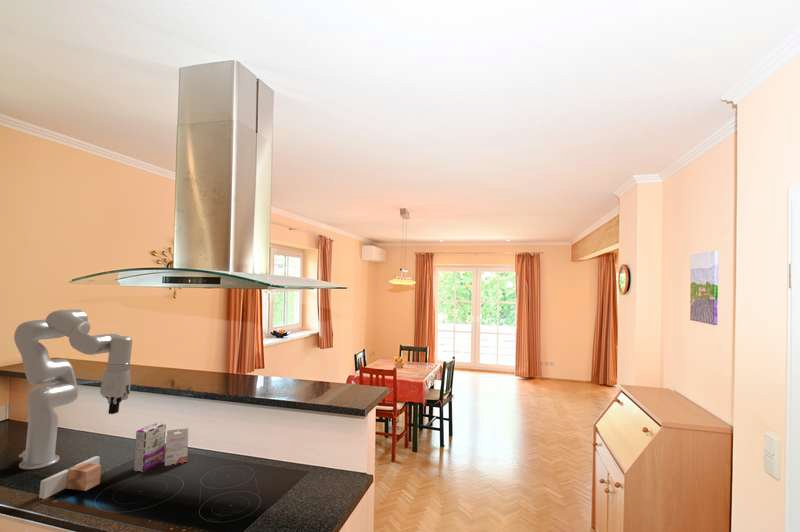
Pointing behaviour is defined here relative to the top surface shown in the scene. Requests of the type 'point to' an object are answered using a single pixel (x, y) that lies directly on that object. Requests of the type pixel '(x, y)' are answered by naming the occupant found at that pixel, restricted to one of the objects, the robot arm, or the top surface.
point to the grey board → (59, 480)
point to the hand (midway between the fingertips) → (113, 413)
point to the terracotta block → (84, 476)
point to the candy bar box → (149, 446)
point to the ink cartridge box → (176, 446)
